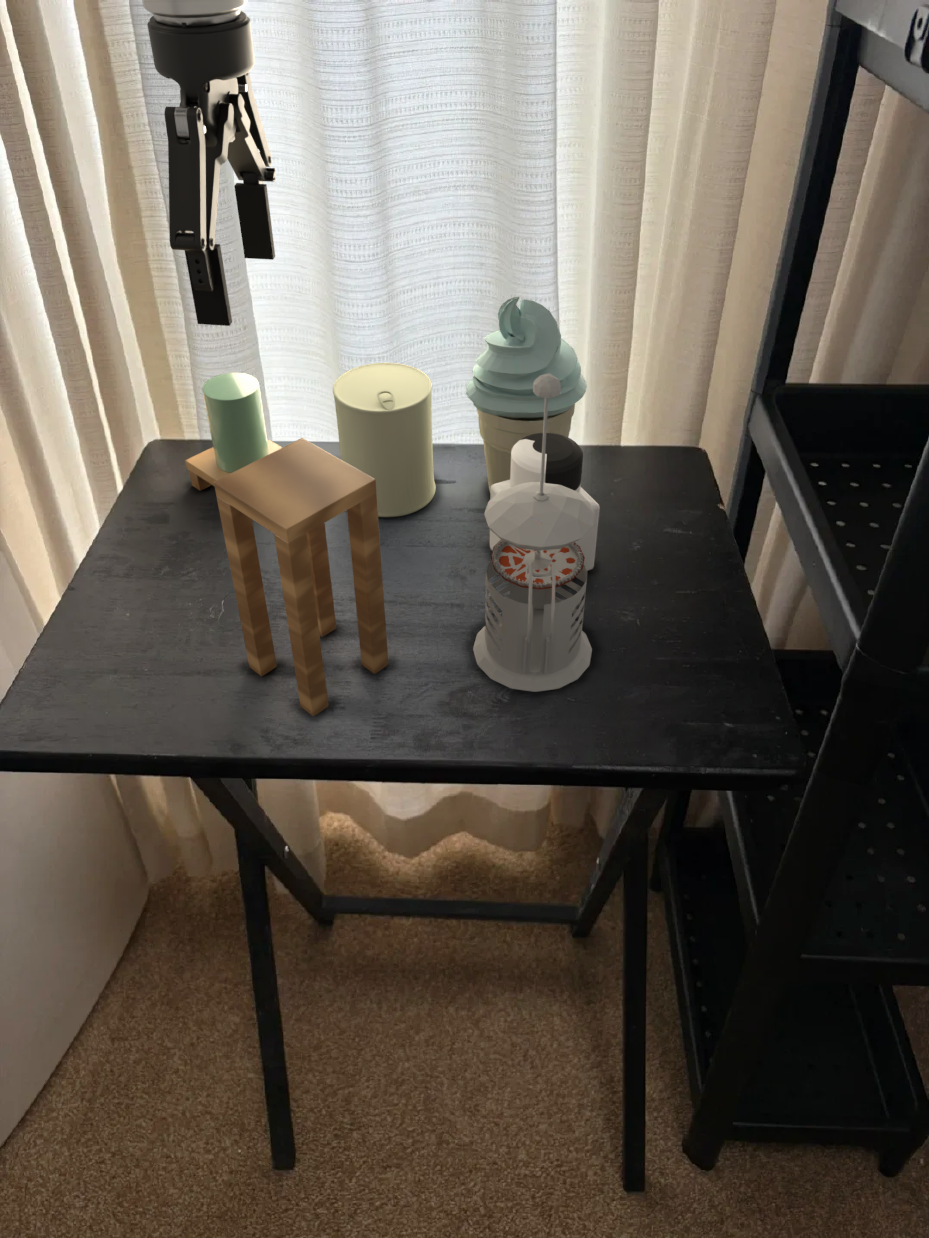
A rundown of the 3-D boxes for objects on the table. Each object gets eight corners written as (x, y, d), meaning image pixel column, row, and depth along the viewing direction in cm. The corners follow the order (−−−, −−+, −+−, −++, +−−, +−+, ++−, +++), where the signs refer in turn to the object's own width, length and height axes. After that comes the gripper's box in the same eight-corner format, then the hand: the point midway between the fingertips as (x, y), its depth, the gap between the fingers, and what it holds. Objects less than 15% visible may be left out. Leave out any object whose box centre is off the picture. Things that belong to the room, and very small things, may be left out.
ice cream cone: (583, 516, 100) (601, 320, 87) (467, 519, 100) (467, 323, 86) (571, 459, 108) (586, 270, 94) (463, 461, 107) (462, 272, 94)
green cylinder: (237, 480, 99) (224, 406, 94) (205, 459, 102) (190, 386, 97) (280, 458, 102) (270, 385, 97) (247, 439, 105) (236, 366, 100)
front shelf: (313, 717, 81) (286, 529, 69) (249, 667, 85) (213, 481, 73) (389, 664, 85) (376, 479, 73) (324, 619, 89) (302, 437, 77)
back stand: (239, 518, 100) (235, 492, 98) (190, 485, 104) (184, 460, 102) (304, 483, 104) (301, 458, 102) (254, 453, 108) (250, 428, 106)
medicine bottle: (555, 527, 99) (563, 416, 91) (595, 570, 94) (606, 456, 86) (488, 548, 96) (489, 435, 88) (525, 592, 92) (530, 478, 84)
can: (349, 523, 99) (338, 412, 91) (336, 471, 106) (325, 363, 98) (444, 510, 101) (442, 400, 93) (425, 459, 107) (421, 352, 100)
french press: (587, 610, 90) (614, 341, 73) (599, 708, 81) (632, 429, 65) (473, 609, 90) (473, 341, 73) (472, 707, 81) (473, 428, 65)
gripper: (192, 58, 68) (239, 358, 82) (289, -20, 86) (314, 235, 100) (81, 54, 68) (147, 352, 82) (201, -22, 87) (238, 232, 101)
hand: (238, 289), depth 91 cm, fingers open, 13 cm apart
